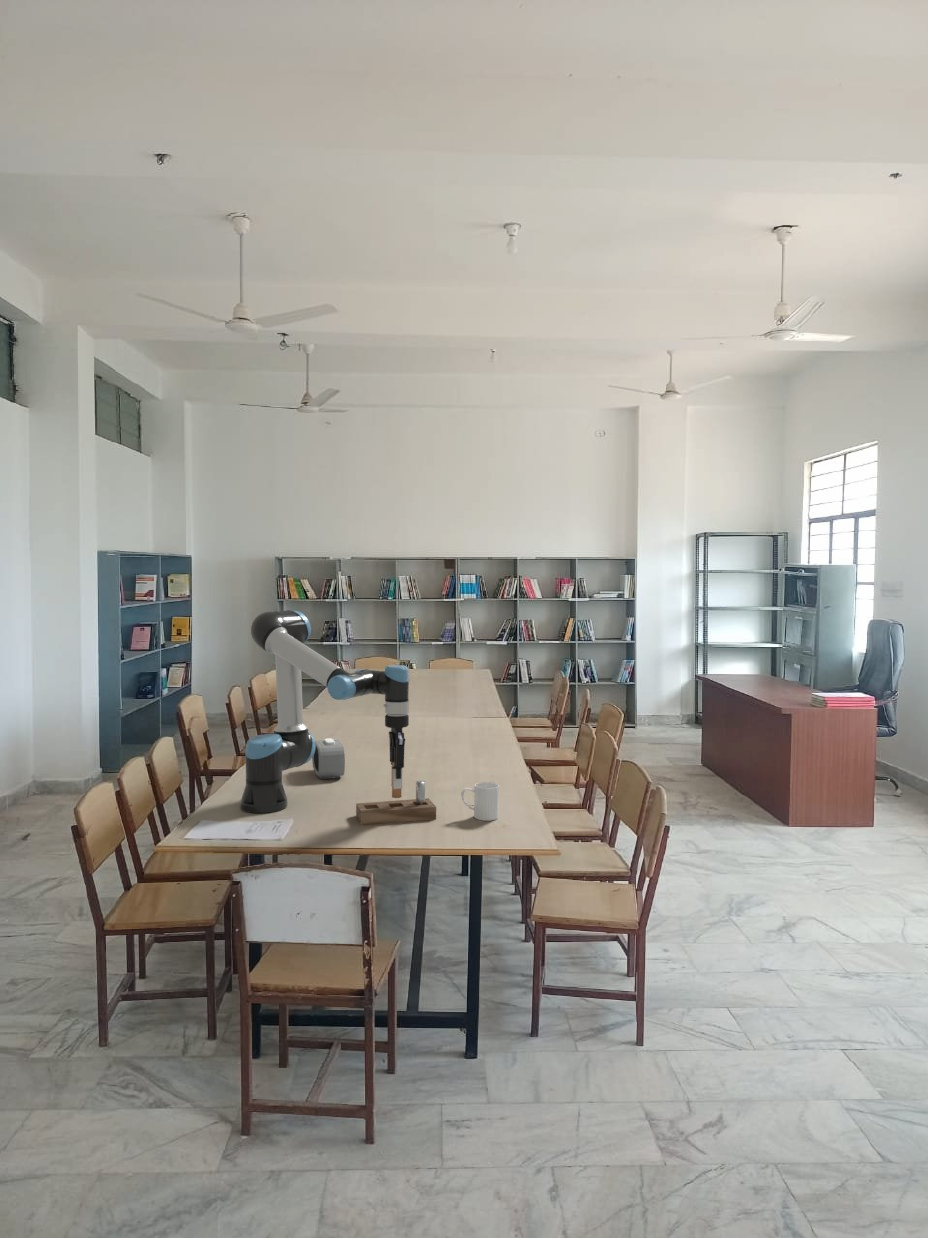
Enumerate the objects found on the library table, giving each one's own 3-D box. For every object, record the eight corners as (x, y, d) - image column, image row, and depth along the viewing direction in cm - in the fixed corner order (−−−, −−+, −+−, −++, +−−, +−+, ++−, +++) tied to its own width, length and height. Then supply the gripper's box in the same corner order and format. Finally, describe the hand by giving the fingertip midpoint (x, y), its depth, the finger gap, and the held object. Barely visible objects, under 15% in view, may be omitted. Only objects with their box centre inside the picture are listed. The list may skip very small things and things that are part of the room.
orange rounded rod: (391, 796, 264) (391, 762, 264) (400, 795, 265) (400, 761, 264) (393, 798, 261) (393, 764, 261) (402, 797, 262) (402, 763, 262)
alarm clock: (311, 769, 325) (311, 735, 324) (335, 767, 328) (335, 734, 327) (319, 782, 306) (319, 746, 305) (344, 780, 309) (344, 745, 308)
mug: (494, 813, 270) (495, 781, 269) (501, 820, 262) (501, 788, 261) (458, 815, 267) (459, 783, 266) (464, 822, 259) (464, 789, 259)
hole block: (356, 815, 265) (356, 803, 265) (428, 810, 272) (428, 798, 272) (361, 825, 255) (361, 812, 255) (436, 819, 262) (436, 806, 262)
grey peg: (414, 814, 267) (414, 781, 266) (423, 813, 268) (423, 780, 267) (416, 817, 264) (417, 783, 263) (425, 816, 265) (426, 782, 264)
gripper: (380, 710, 268) (380, 782, 269) (390, 718, 253) (390, 794, 255) (403, 709, 270) (402, 780, 271) (413, 717, 255) (413, 792, 257)
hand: (396, 787), depth 263 cm, fingers closed on orange rounded rod, 2 cm apart
